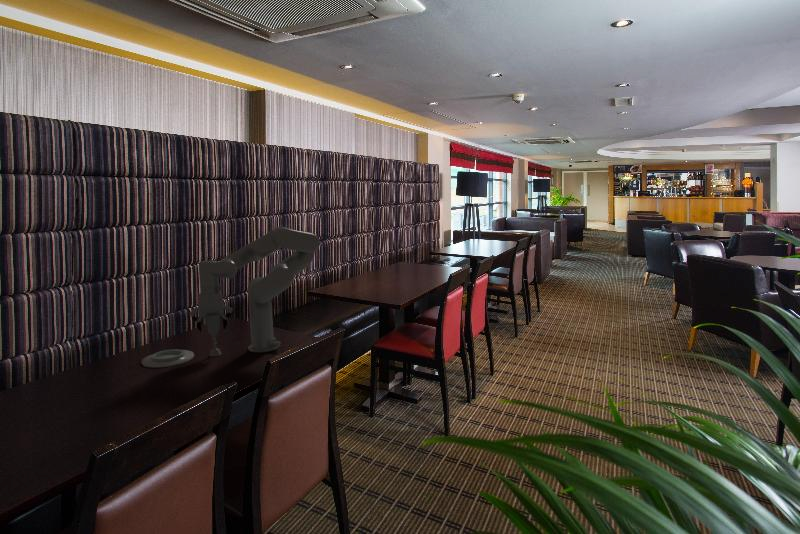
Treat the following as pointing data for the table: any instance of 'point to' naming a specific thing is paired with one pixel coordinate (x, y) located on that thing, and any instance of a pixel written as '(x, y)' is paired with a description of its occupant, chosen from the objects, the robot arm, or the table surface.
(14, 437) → the table surface
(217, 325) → the chalice
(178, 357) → the plate
